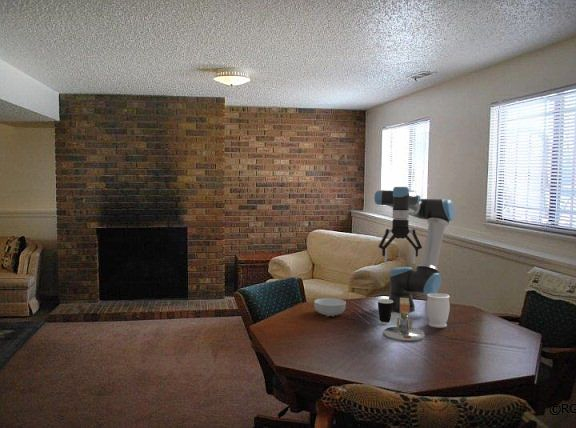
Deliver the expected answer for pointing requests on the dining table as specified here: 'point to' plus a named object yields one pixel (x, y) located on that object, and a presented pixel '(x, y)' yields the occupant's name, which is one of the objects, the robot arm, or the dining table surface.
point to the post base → (399, 335)
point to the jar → (438, 309)
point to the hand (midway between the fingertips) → (399, 263)
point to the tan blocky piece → (404, 311)
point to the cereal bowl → (329, 306)
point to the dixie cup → (385, 310)
